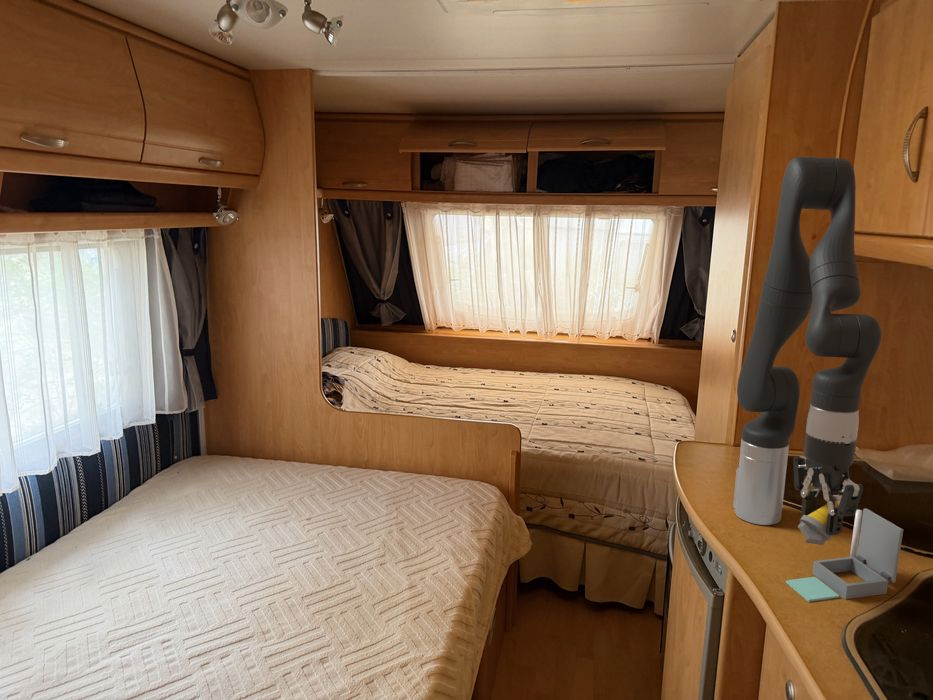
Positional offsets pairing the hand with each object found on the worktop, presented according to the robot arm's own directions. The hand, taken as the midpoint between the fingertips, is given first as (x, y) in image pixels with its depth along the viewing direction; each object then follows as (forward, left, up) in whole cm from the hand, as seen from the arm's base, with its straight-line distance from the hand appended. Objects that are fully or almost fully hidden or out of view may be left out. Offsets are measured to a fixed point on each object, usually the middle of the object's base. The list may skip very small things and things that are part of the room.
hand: (820, 525), depth 114 cm
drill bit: (-1, 0, -3) cm, 3 cm away
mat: (0, 0, -12) cm, 12 cm away
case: (-2, +9, -12) cm, 15 cm away
